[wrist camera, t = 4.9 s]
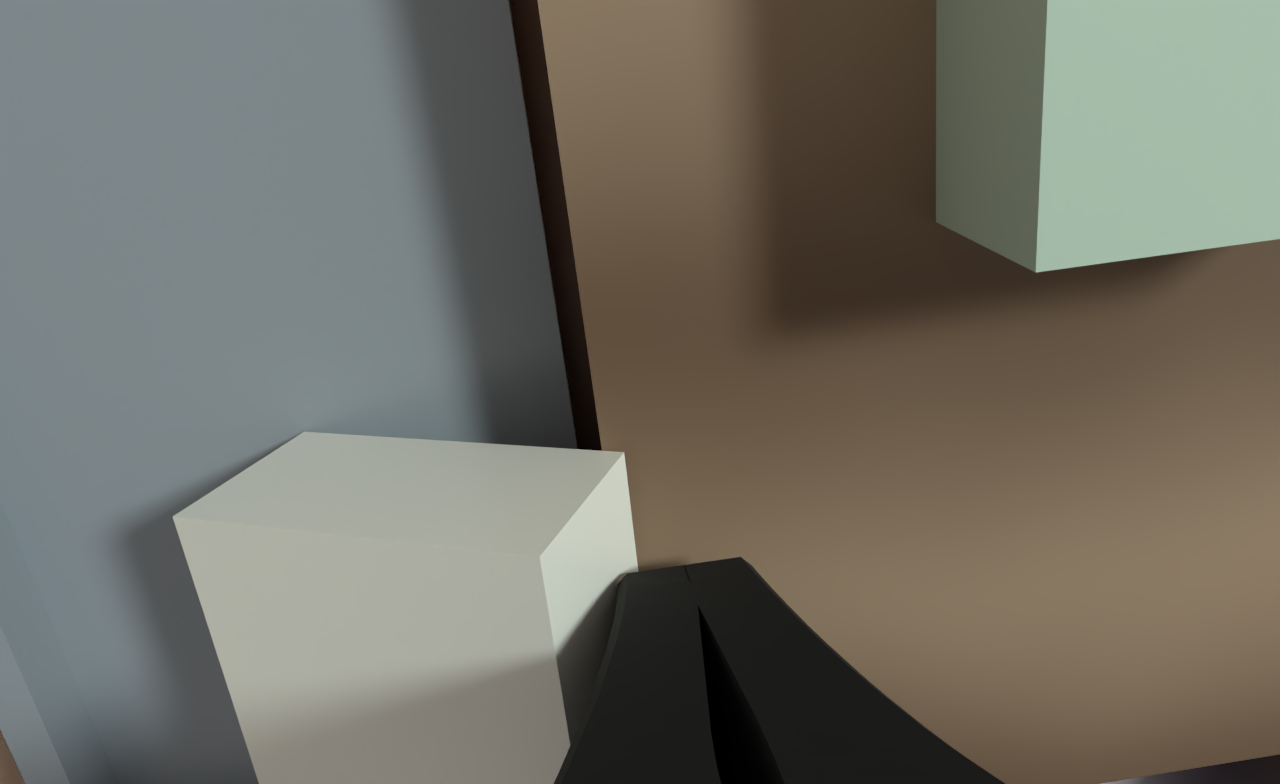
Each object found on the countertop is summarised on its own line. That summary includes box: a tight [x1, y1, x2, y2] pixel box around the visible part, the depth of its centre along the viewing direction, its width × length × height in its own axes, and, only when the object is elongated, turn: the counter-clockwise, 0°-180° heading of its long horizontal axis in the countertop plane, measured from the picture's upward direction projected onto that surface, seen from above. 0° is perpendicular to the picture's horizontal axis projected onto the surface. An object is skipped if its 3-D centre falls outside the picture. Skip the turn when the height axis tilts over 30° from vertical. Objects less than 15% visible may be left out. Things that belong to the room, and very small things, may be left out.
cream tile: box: [173, 432, 638, 784], centre depth 10 cm, size 4×4×2 cm
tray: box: [0, 0, 578, 784], centre depth 10 cm, size 14×7×1 cm, turn 7°
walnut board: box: [537, 0, 1280, 784], centre depth 11 cm, size 12×9×2 cm
